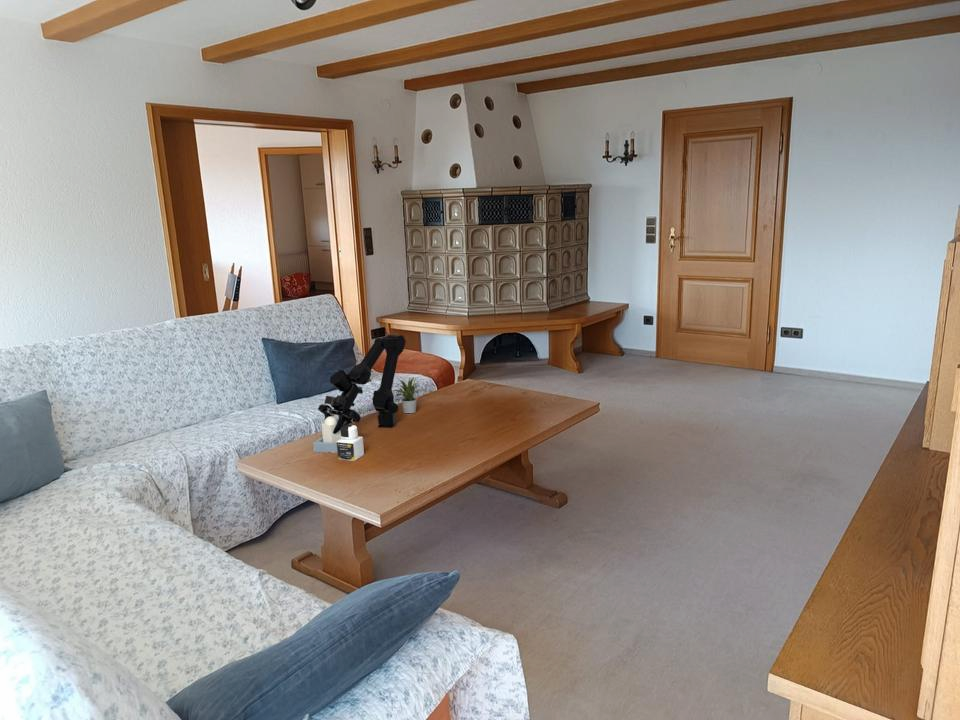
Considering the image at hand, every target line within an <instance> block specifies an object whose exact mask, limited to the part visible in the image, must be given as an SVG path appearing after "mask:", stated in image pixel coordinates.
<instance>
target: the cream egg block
mask: <svg viewBox="0 0 960 720" xmlns="http://www.w3.org/2000/svg"><path fill="white" fill-rule="evenodd" d="M337 422H338V419H337V418H336V417H335V416H334V417H333V416H330V417H327V418H326V419H325V418H324V421H323V422H322V423H321V433H322V436H323V442H331V443H337V441H338V440H340V439H341V430H340V431H338V432H337V433H336V434H334V433H333V431H334V428H335V426H336V424H337Z"/></svg>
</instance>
